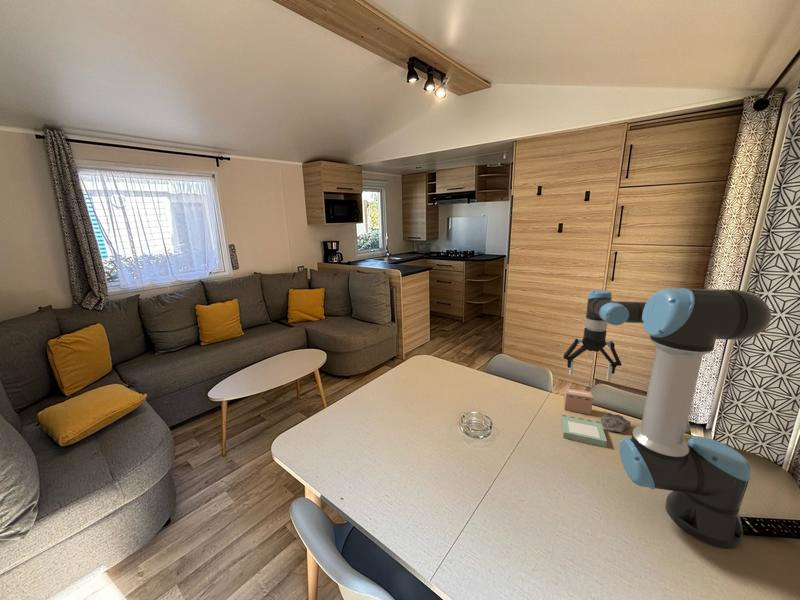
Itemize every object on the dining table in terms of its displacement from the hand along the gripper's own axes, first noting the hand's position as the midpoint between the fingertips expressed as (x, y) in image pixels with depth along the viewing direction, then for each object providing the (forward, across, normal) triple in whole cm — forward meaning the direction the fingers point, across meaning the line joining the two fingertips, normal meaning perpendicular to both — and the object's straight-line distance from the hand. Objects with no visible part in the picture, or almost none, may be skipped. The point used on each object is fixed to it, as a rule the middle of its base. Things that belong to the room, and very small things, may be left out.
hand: (589, 377), depth 129 cm
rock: (+18, -10, +4) cm, 21 cm away
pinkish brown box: (+17, +2, -4) cm, 18 cm away
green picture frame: (+18, +2, +13) cm, 22 cm away
